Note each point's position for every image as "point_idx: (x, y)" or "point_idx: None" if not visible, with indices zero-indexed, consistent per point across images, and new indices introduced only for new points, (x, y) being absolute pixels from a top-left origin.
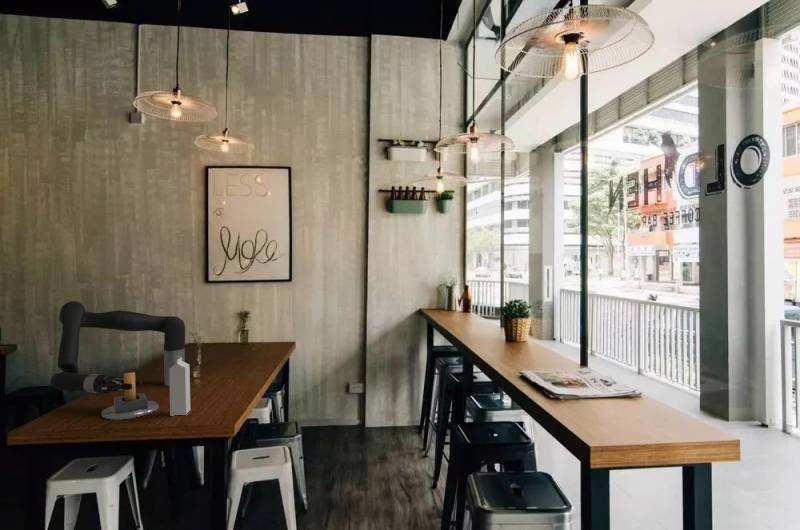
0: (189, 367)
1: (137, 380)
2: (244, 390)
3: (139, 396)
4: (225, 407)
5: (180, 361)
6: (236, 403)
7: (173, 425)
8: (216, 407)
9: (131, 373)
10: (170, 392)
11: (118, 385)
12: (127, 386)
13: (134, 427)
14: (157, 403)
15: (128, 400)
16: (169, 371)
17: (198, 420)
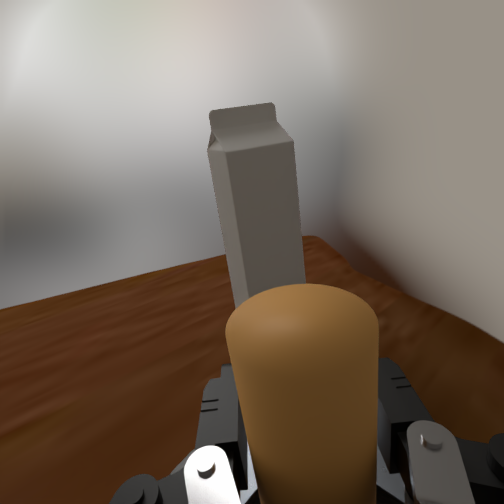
0: (210, 163)
1: (225, 390)
2: (8, 325)
3: (249, 489)
4: (196, 282)
5: (232, 125)
6: (160, 282)
7: (366, 285)
8: (196, 294)
9: (294, 300)
10: (301, 245)
11: (472, 457)
12: (395, 370)
13: (466, 348)
14: (187, 459)
15: (378, 481)
16: (294, 154)
17: (307, 272)
